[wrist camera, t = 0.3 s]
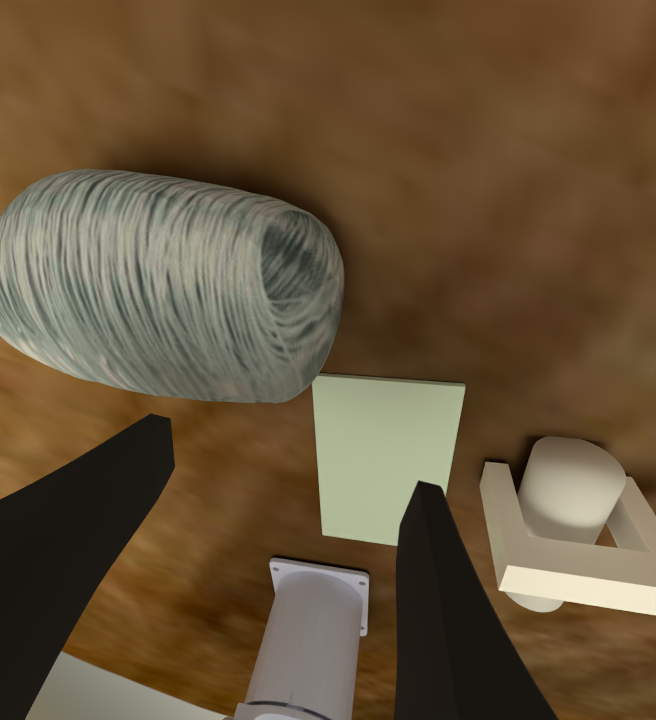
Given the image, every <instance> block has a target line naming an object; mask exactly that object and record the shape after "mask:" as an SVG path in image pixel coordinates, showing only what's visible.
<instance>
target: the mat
mask: <svg viewBox="0 0 656 720" xmlns="http://www.w3.org/2000/svg"><path fill="white" fill-rule="evenodd" d="M312 389H313V404H314V419H315V433H316V448H317V462H318V477H319V492H320V506H321V521H322V535H326V536H333V537H340V538H347V539H353V540H360V541H367V542H374V543H381V544H387V545H394V546H397V545H398V535H399V525H400V523H401V520H402V518H403V516H404V513H405V511H406V508H407V506H408V504H409V501H410V499H411V496H412V494H413V492H414V489H415V487H416V484H417V482H418V480H419V481H423V482H427V483H431V484H435V485H439V486H441V488H442V489H443V491H444V494H445V496H446V491H447V485H448V480H449V474H450V469H451V463H452V458H453V453H454V447H455V442H456V436H457V431H458V425H459V420H460V414H461V409H462V404H463V398H464V393H465V384H463V383H449V382H436V381H422V380H408V379H395V378H381V377H368V376H354V375H340V374H327V373H318V375H317V377H316V378H315V380H314V381H313V382H312Z"/></svg>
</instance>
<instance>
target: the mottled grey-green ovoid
mask: <svg viewBox="0 0 656 720" xmlns="http://www.w3.org/2000/svg"><path fill="white" fill-rule="evenodd" d="M343 297H344V267H343V260H342V258H341V255H340V252H339V249H338V246H337V244H336V242H335V240H334V237H333V235H332V233H331V232H330V230H329V229H328V228H327V226H326V225H325V224H323V223H322V222H321V221H320V220H318V219H317V218H316V217H315V216H314V215H312V214H311V213H309V212H307V211H304V210H302V209H300V208H297V207H295V206H293V205H291V204H289V203H287V202H285V201H283V200H280V199H276V198H273V197H270V196H265V195H259V194H254V193H250V192H246V191H243V190H239V189H235V188H231V187H226V186H221V185H215V184H210V183H205V182H199V181H194V180H188V179H182V178H176V177H170V176H162V175H153V174H145V173H137V172H130V171H123V170H97V169H81V170H72V171H66V172H62V173H58V174H53V175H50V176H47V177H45V178H43V179H41V180H39V181H37V182H35V183H33V184H31V185H30V186H29V187H28V188H26V189H25V190H24V191H23V192H22V193H21V194H19V195H18V196H17V197H16V198H15V199H14V200H13V201H12V202H11V203H10V204H9V205H8V207H7V208H6V210H5V211H4V213H3V214H2V215H1V217H0V336H1V337H2V338H3V339H4V340H5V341H6V342H8V343H9V344H10V345H12V346H13V347H15V348H16V349H18V350H19V351H21V352H23V353H24V354H26V355H28V356H30V357H32V358H33V359H35V360H37V361H39V362H41V363H43V364H46V365H48V366H50V367H52V368H55V369H57V370H59V371H61V372H64V373H66V374H69V375H71V376H74V377H77V378H80V379H83V380H88V381H95V382H99V383H103V384H106V385H110V386H113V387H116V388H120V389H125V390H130V391H135V392H140V393H145V394H150V395H155V396H166V397H180V398H186V399H193V400H205V401H223V402H243V403H261V402H268V403H283V402H286V401H289V400H291V399H293V398H294V397H296V396H297V395H299V394H300V393H301V392H303V391H304V390H305V389H306V388H308V386H309V385H310V384H311V383H312V382H313V381H314V380H315V378H316V377H317V375H318V373H319V372H320V370H321V369H322V367H323V365H324V363H325V361H326V359H327V357H328V354H329V352H330V350H331V347H332V345H333V342H334V340H335V337H336V334H337V330H338V327H339V323H340V318H341V313H342V308H343Z"/></svg>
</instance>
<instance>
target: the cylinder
mask: <svg viewBox="0 0 656 720" xmlns="http://www.w3.org/2000/svg"><path fill="white" fill-rule="evenodd" d="M625 484H626V475H625V472H624V470H623V468H622V466H621V465H620V464H619V462H618V461H617V460H616V459H615V458H614V457H613V456H611V455H610V454H609V453H608V452H606V451H605V450H603V449H602V448H600V447H598V446H596V445H594V444H592V443H590V442H588V441H585V440H582V439H575V438H564V437H553V436H547V437H544V438H541V439H540V440H538V441H537V442H536V443H535V444H534V446H533V448H532V451H531V454H530V457H529V461H528V464H527V467H526V470H525V473H524V476H523V479H522V482H521V485H520V488H519V491H518V494H517V498H518V502H519V505H520V509H521V512H522V516H523V520H524V523H525V527H526V531H527V534H528V536H531V537H538V538H546V539H553V540H560V541H568V542H575V543H583V544H590V545H594V543H595V541H596V540H597V538H598V536H599V534H600V532H601V530H602V528H603V526H604V525H605V523H606V521H607V519H608V517H609V515H610V513H611V511H612V509H613V508H614V506H615V504H616V502H617V500H618V498H619V496H620V494H621V493H622V491H623V489H624V487H625ZM495 574H496V573H495ZM505 593H506V594H507V595H508V596H509V597H510V598H511V599H512V600H514V601H515V602H516V603H518V604H519V605H521V606H523V607H525V608H527V609H530V610H533V611H537V612H550V611H553V610H556V609H557V608H559V607H560V606H561V605H562V603H563V602H564V601H563V600H557V599H550V598H544V597H538V596H532V595H525V594H519V593H513V592H507V591H505Z"/></svg>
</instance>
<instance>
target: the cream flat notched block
mask: <svg viewBox="0 0 656 720" xmlns="http://www.w3.org/2000/svg"><path fill="white" fill-rule="evenodd" d="M480 491H481V497H482V502H483V507H484V513H485V518H486V524H487V529H488V535H489V540H490V546H491V551H492V557H493V562H494V568H495V573H496V579H497V584H498V589H499V590H500V591H507V592H513V593H519V594H525V595H532V596H538V597H544V598H550V599H557V600H563V601H569V602H575V603H582V604H588V605H594V606H601V607H607V608H613V609H619V610H626V611H632V612H638V613H644V614H651V615H656V516H655V514H654V512H653V511H652V509H651V508H650V506H649V504H648V503H647V501H646V499H645V498H644V496H643V495H642V493H641V491H640V490H639V488H638V486H637V485H636V483H635V481H634V480H633V478H632V477H626V484H625V487H624V489H623V491H622V493H621V494H620V496H619V498H618V500H617V502H616V504H615V506H614V508H613V509H612V511H611V513H610V515H609V517H608V519H607V521H606V524H607V526H608V528H609V530H610V532H611V534H612V536H613V538H614V540H615V542H616V544H617V546H618V548H612V547H605V546H597V545H590V544H583V543H575V542H568V541H560V540H553V539H546V538H538V537H531V536H528V534H527V531H526V527H525V523H524V520H523V516H522V512H521V509H520V505H519V502H518V498H517V494H516V491H515V487H514V484H513V480H512V476H511V473H510V469H509V466H508V464H503V463H493V462H485V466H484V470H483V474H482V478H481V482H480Z"/></svg>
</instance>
